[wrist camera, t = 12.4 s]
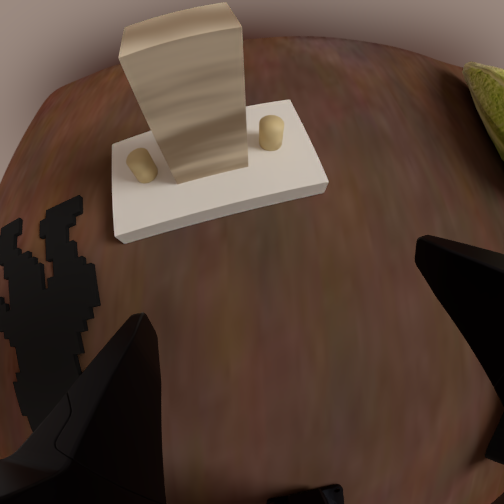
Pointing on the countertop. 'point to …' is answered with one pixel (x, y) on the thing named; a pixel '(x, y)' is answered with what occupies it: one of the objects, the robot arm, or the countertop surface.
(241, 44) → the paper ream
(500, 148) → the lettuce
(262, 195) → the white peg rack
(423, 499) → the countertop surface
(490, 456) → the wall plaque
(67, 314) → the ragged black cutout
